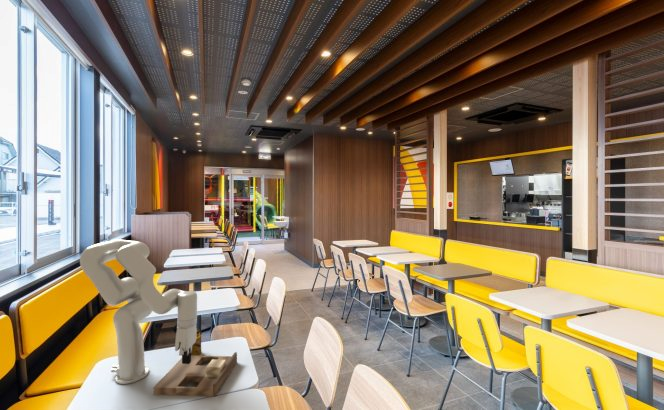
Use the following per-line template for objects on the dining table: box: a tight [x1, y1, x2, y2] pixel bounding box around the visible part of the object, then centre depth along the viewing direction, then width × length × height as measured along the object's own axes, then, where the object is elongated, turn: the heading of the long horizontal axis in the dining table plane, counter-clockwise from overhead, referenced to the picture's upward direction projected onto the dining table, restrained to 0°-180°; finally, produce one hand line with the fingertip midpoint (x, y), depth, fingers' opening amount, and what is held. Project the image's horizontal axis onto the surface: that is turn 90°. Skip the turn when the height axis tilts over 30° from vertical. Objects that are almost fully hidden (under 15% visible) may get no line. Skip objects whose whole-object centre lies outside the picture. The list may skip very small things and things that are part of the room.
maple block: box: [206, 359, 226, 376], centre depth 140 cm, size 6×6×4 cm
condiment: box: [191, 328, 204, 356], centre depth 159 cm, size 7×8×12 cm
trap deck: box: [153, 351, 238, 397], centre depth 141 cm, size 25×24×5 cm
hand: (186, 362), depth 141 cm, fingers closed
